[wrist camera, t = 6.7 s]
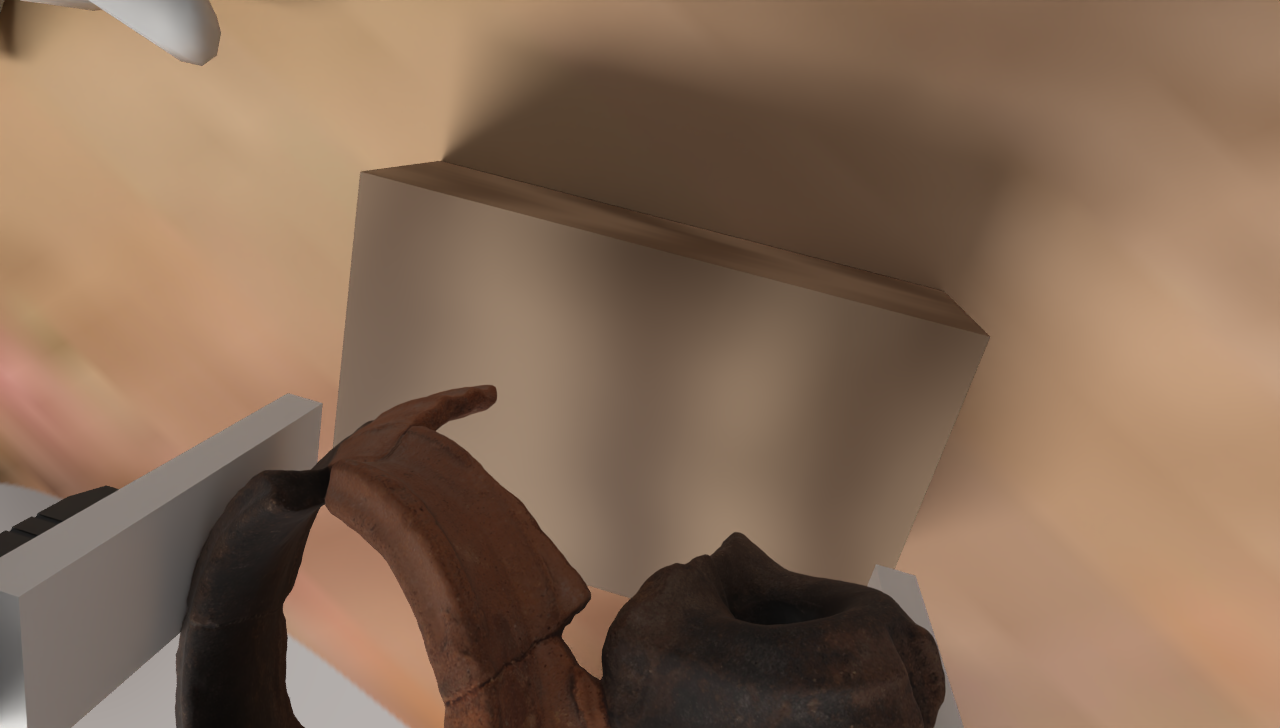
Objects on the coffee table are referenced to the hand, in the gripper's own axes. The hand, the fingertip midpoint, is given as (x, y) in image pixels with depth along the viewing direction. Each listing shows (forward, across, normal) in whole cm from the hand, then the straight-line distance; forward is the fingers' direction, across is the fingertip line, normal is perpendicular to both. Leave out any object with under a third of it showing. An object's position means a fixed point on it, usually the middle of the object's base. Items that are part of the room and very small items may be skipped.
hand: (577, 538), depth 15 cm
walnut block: (+10, 0, 0) cm, 10 cm away
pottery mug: (0, +1, -1) cm, 1 cm away
